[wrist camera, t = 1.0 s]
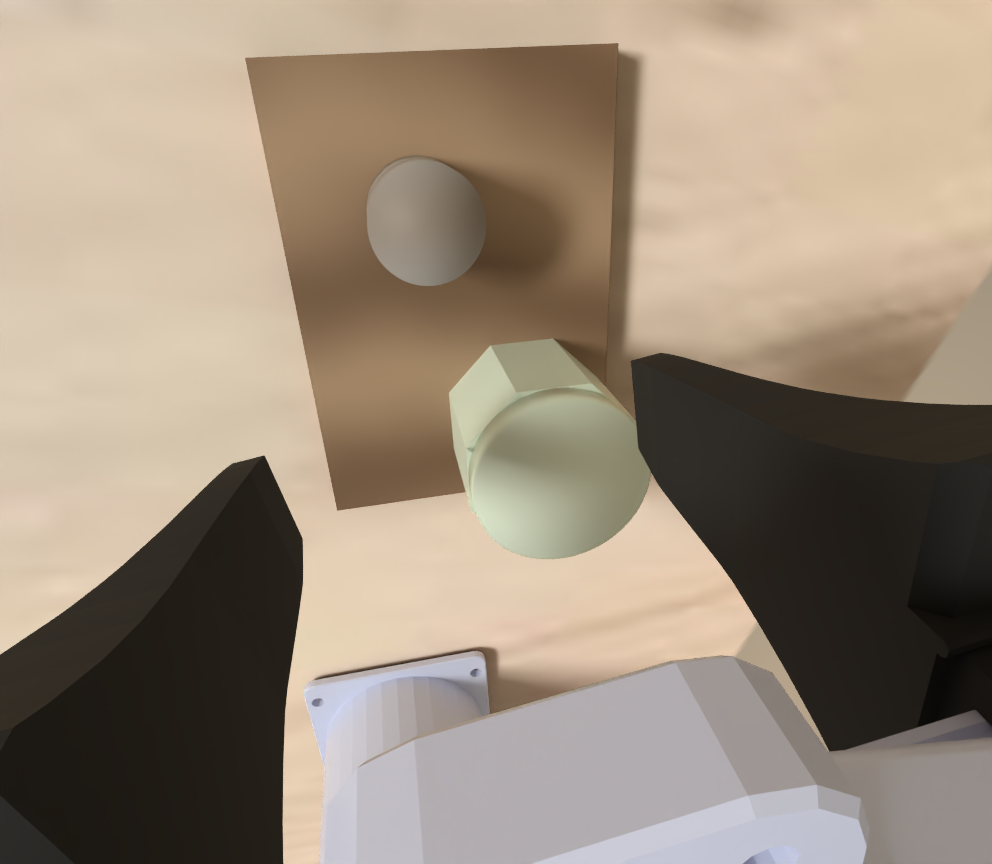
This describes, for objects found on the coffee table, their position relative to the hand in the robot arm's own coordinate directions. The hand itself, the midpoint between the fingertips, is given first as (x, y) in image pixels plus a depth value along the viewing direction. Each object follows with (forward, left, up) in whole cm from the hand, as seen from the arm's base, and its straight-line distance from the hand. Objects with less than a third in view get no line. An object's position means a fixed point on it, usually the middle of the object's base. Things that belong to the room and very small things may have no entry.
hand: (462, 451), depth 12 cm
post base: (0, -1, -10) cm, 10 cm away
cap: (-4, -3, -9) cm, 10 cm away
